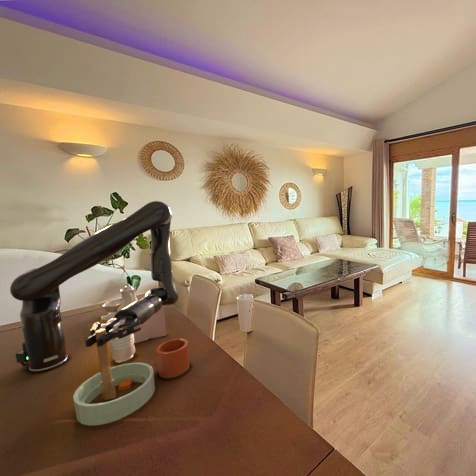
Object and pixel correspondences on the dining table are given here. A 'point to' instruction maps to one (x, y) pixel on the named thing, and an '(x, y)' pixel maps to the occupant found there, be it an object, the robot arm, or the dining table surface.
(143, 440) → the dining table surface
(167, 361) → the crock
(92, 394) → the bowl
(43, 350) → the robot arm
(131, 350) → the candle
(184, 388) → the dining table surface
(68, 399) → the dining table surface
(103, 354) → the stirring stick
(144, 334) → the greeting card
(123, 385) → the carrot chunk
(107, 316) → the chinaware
